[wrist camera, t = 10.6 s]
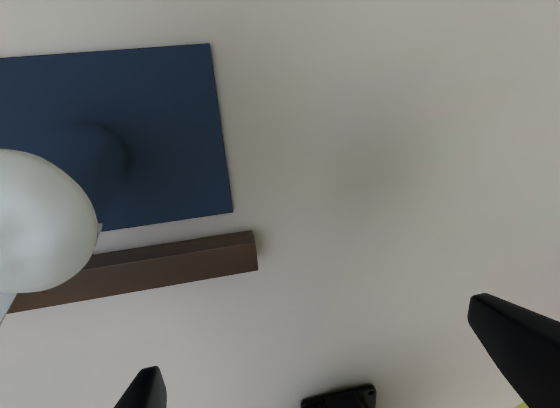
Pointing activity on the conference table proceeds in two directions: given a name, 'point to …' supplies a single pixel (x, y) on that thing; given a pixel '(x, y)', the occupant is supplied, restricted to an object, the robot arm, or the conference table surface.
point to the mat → (131, 123)
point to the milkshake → (54, 205)
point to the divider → (149, 269)
